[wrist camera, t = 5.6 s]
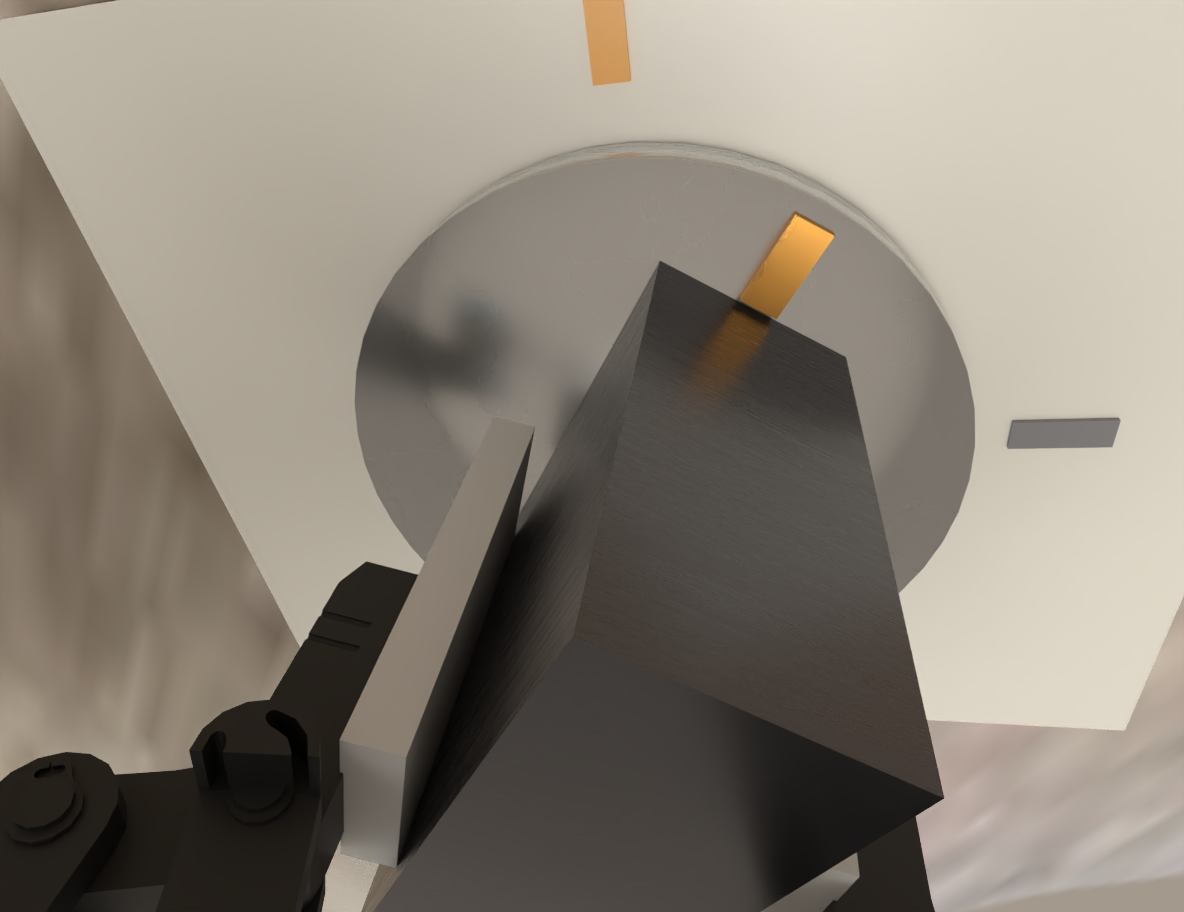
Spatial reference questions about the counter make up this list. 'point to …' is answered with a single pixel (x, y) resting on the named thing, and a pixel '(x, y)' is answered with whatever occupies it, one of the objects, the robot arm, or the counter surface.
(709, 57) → the dial panel
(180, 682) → the counter surface
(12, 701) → the counter surface
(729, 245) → the dial
